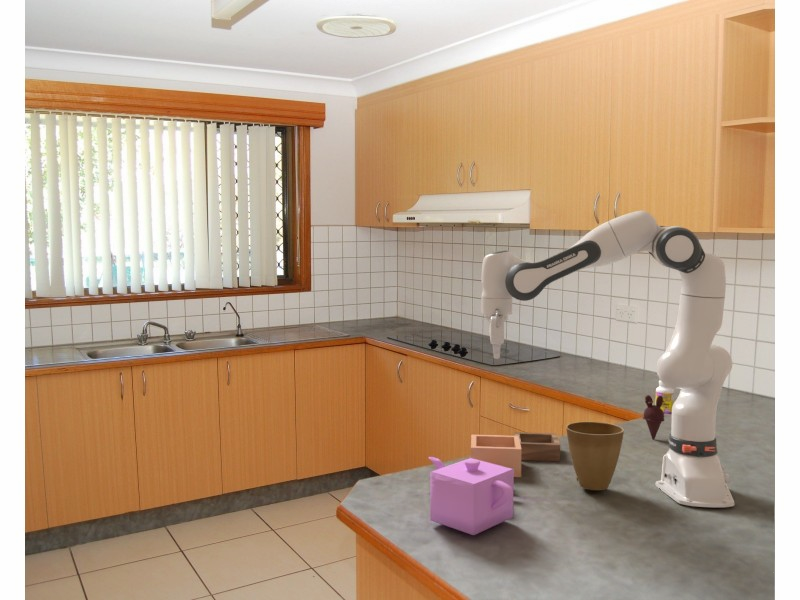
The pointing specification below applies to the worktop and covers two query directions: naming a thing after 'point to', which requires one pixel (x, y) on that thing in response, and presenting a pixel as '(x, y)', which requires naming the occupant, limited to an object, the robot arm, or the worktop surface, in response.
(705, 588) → the worktop surface
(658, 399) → the icecream
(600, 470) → the plant pot
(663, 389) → the supplement bottle
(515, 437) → the stand
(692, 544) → the worktop surface
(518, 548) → the worktop surface
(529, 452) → the block
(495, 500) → the teapot
